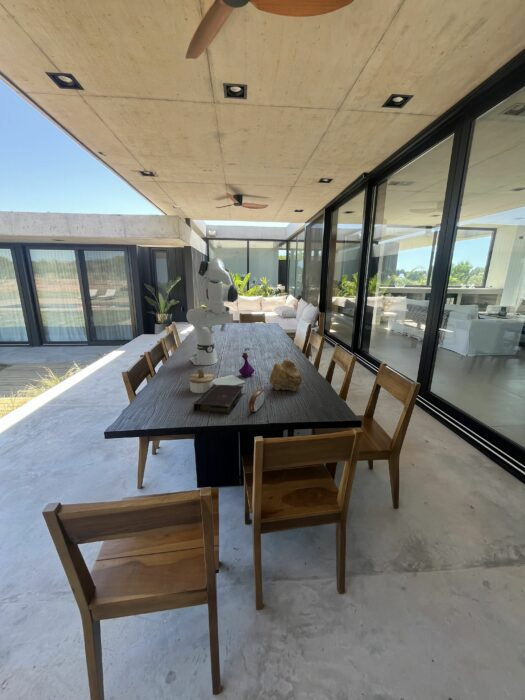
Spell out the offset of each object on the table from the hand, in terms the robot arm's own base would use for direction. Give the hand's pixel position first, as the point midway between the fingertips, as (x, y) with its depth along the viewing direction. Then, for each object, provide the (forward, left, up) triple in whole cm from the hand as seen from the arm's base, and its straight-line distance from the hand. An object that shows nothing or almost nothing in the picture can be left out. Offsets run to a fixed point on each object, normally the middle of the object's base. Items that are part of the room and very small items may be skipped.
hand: (217, 332), depth 172 cm
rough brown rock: (+35, +25, -29) cm, 52 cm away
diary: (+29, -15, -30) cm, 45 cm away
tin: (+46, -4, -29) cm, 55 cm away
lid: (+8, -15, -23) cm, 29 cm away
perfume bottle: (+4, +18, -29) cm, 35 cm away
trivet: (+7, +2, -29) cm, 30 cm away
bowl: (+8, -15, -29) cm, 34 cm away
